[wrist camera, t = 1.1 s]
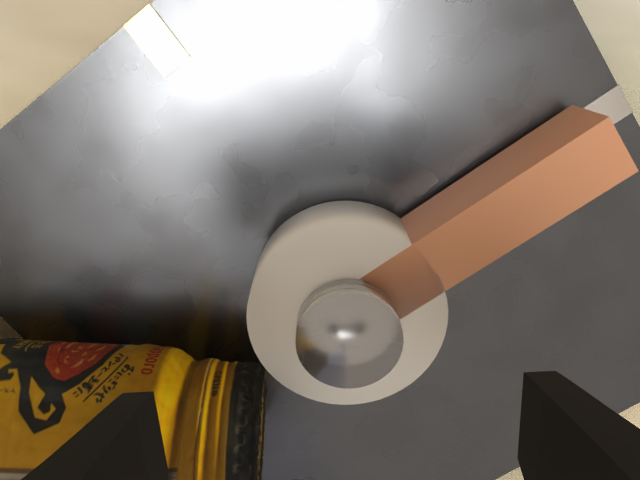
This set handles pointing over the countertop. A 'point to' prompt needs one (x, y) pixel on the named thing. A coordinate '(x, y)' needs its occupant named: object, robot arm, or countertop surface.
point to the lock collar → (427, 245)
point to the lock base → (316, 188)
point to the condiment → (125, 377)
